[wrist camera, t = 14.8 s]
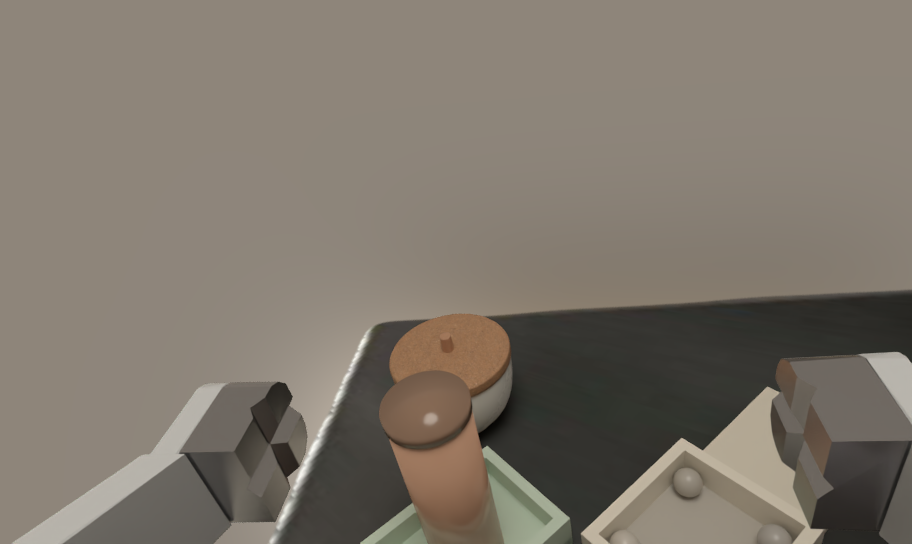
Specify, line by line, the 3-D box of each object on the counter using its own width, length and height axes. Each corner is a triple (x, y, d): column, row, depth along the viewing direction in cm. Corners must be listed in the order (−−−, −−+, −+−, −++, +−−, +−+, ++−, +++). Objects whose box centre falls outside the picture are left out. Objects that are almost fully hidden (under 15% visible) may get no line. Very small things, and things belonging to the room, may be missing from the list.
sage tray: (492, 469, 47) (486, 445, 45) (573, 543, 40) (569, 518, 39) (370, 566, 42) (359, 543, 40) (440, 669, 35) (430, 646, 33)
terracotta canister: (474, 501, 43) (435, 358, 36) (521, 549, 39) (489, 400, 32) (417, 547, 41) (362, 404, 33) (462, 603, 37) (411, 456, 29)
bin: (760, 389, 49) (765, 358, 47) (895, 454, 41) (906, 421, 39) (584, 563, 39) (580, 533, 37) (719, 689, 32) (723, 660, 30)
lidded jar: (533, 379, 55) (521, 302, 50) (502, 469, 47) (484, 388, 42) (434, 367, 59) (414, 295, 54) (390, 448, 51) (361, 371, 46)
